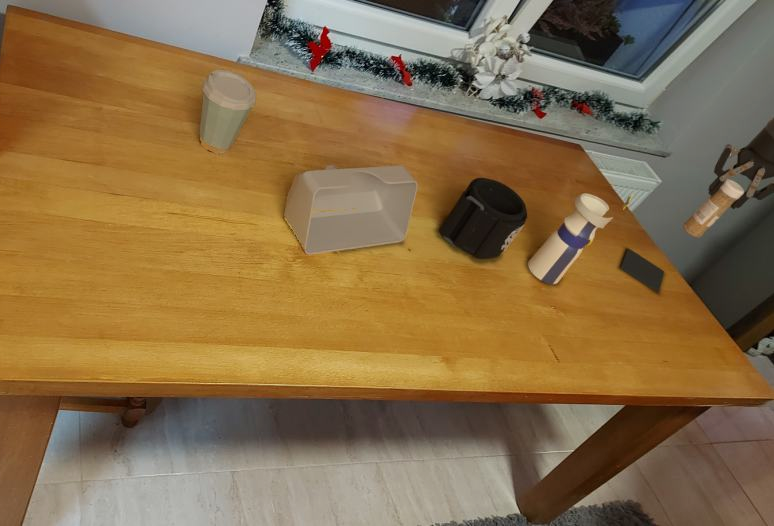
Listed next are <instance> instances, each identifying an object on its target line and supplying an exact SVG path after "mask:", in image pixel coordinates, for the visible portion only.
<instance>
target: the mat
mask: <svg viewBox="0 0 774 526" xmlns="http://www.w3.org/2000/svg"><path fill="white" fill-rule="evenodd" d="M619 268H620V269H621V270H622V271H623V272H625V273H627V274H628V275H630V276H632V277H633V278H635V279H636V280H637V281H639V282H641V283H642V284H643V285H645V286H647V287H648V288H650V289H651V290H652V291H655V292H656V293H659V291H660V289H661V285H662V282H663V277H664V275H665V270H663V269H661V268H660V267H659V266H657V265H655V264H654V263H652V262H651V261H649V260H648V259H646V258H644V256H641V255H640V254H639V253H637V252H635V251H634V250H632V249H630V248H628V247H627V249H626V250H625V254H624V256H623V258H622V262H621V265H620V266H619Z"/></svg>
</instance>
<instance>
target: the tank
mask: <svg viewBox="0 0 774 526" xmlns="http://www.w3.org/2000/svg"><path fill="white" fill-rule="evenodd" d="M418 188H419V183H418V182H417V180H416V179H415V178H414V177H413V176H412V174H411V173H410V172H409V171H408V170H407V168H406V167H405V166H404V165H388V166H386V165H385V166H370V167H369V166H367V167H350V168H337V167H336V166H335V165H334V164H330V165H327V166H326V167H325V168H324V169H316V170H315V169H314V170H307V171H301V172H298V173H296V175H295V176H294V179H293V181H292V184H291V186H290V189H289V191H288V193H287V196H286V197H287V198H286V203H285V209H284V214H283V217H284V216H285V218H286V219H287V221H288V223H289V224H290V225H291V227H292V229H293V230H294V232H295V234H296V235H297V237H298V239H299V240H300V242H301V244H302V245H301V244H300V242H299V241H298V239H297V238H296V236H295V234H294V233H293V231H292V230H291V228H290V227H289V225H288V223H287V222H286V220H285V219H284V218H283V220H284V221H285V223H286V225H287V226H288V227H289V229H290V231H291V232H292V234H293V235H294V237H295V238H296V240H297V242H298V243H299V245H300V247H301V248H302V249H303V247H304V249H306V250H304V249H303V251H304V253H305V254H306V255H309V256H311V255H317V254H318V255H319V254H325V253H331V252H339V251H346V250H352V249H353V250H354V249H360V248H369V247H375V246H382V245H389V244H396V243H401V242H403V241H404V240H405V238H406V237H407V234H408V231H409V227H410V222H411V219H412V218H411V217H412V213H413V208H414V204H415V200H416V197H417V192H418ZM352 208H356V209H352ZM335 209H336V210H335ZM337 209H346V210H337ZM312 210H313V211H315V210H316V211H318V210H319V211H321V210H322V211H324V210H335V211H325V212H315V213H312ZM302 246H303V247H302Z"/></svg>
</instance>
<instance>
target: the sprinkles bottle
mask: <svg viewBox="0 0 774 526" xmlns="http://www.w3.org/2000/svg"><path fill="white" fill-rule="evenodd" d="M744 192H745V189H744V187H743V186H741V184H739V183H738V182H737V181H734V180H733V179H731V178H729V179H727V180H725V181H724V183H723V184H722V186H721V187H720V188H719V189H718V190H717V191H716V192H715V193H714V194H713V195H712V196H711V195H709V197H707V198H706V200H705V201H704V202H703V203H702V204H701V205H700V206H699V207H698V208H697V209H696V210H695V212H694V213H692V215H691V216H690V217H689V218H688V219H687V221H685V222H684V223H683V224H682V227H683V229H684V231H685V232H687V233H688V234H689V235H690V236H692V237H694V238H701V237H702V236H703V235H704V233H706V232H707V230H709V228H710V227H712V226H713V225H714V224H715V223H716V222H717V221H718V219H720V217H722V215H723V214H725V212H726V211H727V210H728V209H729V208H731V204H733V202H734V201H736V200H737V199H739V198H740V197H741V196H742V195H743V194H744Z"/></svg>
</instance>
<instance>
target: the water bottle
mask: <svg viewBox="0 0 774 526" xmlns="http://www.w3.org/2000/svg"><path fill="white" fill-rule="evenodd" d="M632 198H633V194H631V195H630V196H629V195H628V197H627V198H626V200H625V202H624V203H623V204H622V206H623V207H622V211H624V210H625V208H626V207H627V206H628V205H630V201H631V200H632ZM573 202H574V206H575V208H574V209H575V210H574V211H573V212H572V213H571V214H570V215H567V216H565V217H564V219H563V223H562V224H561V225H560V227H559V228H558V229H556V230H554V231H553V232H552V233H551V234H550V235H549V237H548V238H547V239H546V240H545V242H544V243H543V244H542V245H541V246H540V248H539V249H538V250H537V251H536V252H535V253H534V254H533V255H532V256H531V258H530V259H529V260H528V262H527V265H528V266H527V267H528V269H529V271H530V272H531V273H532V274H533V276H534V277H536V278H537V279H538V280H540V281H542V282H543V283H546V284H549V285H556V284H558V283H559V282H560V280H561V279H562V278H563V276H564V275H565V274H566V272H567V271H568V270H569V268H571V266H572V265H573V264H574V263H575V262H576V260H577V259H578V258H579V256H580V255H581V254H582V252H583V250H584V248H585V247H586V248H587V247H590V245H591V244H592V243H593V241H594V239H595V237H596V231H597V230H598V229H599V228H600V229H604V228H605V227H606V226H607V224H609V222H611V221H612V220H613V219H614V217H604V215H606V213H607V212H608V211H609V210H610V206H609V204H608V203H607V202H606V201H605V200H603V198H600V197H598V196H596V195H594V194H591V193H581V194H579V195H577V196H576V197H575V198H574V199H573Z"/></svg>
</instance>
